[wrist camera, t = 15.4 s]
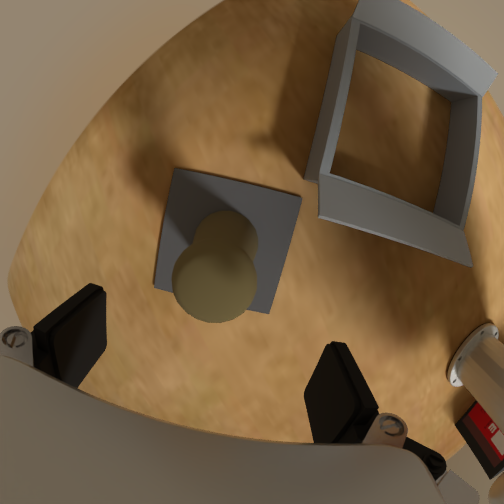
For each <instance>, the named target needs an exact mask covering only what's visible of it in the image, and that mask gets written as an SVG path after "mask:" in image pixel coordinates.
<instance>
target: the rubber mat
mask: <svg viewBox="0 0 504 504" xmlns="http://www.w3.org/2000/svg"><path fill="white" fill-rule="evenodd" d="M301 202H302V198H301V197H297V196H294V195H290V194H286V193H282V192H279V191H275V190H271V189H267V188H263V187H259V186H255V185H251V184H247V183H243V182H238V181H234V180H230V179H225V178H221V177H216V176H212V175H207V174H202V173H197V172H193V171H188V170H182V169H177V168H174V173H173V177H172V182H171V187H170V191H169V196H168V201H167V207H166V212H165V217H164V223H163V229H162V235H161V241H160V247H159V254H158V261H157V269H156V276H155V285H154V288H157V289H161V290H164V291H168V292H172V293H173V290H172V280H171V278H172V272H173V268H174V264H175V262H176V261H177V259H178V258H179V256H180V255H181V253H182V252H183V251H184V250H185V249H186V248H187V247H189V246H190V245H191V244H193V239H194V236H195V232H196V229H197V227H198V226H199V224H200V223H201V221H202V220H203V219H204V218H206V217H207V216H208V215H210V214H212V213H215V212H218V211H233V212H236V213H239V214H241V215H243V216H244V217H246V218H247V219H248V220H250V222H251V223H252V225H253V226H254V227H255V229H256V232H257V236H258V250H257V253H256V255H255V258H254V261H253V264H254V267H255V270H256V273H257V291H256V293H255V296H254V298H253V301H252V303H251V304H250V306H249V307H248V308H247V309H246V310H251V311H256V312H261V313H266V314H269V312H270V309H271V306H272V303H273V299H274V296H275V293H276V289H277V286H278V283H279V280H280V276H281V273H282V269H283V266H284V263H285V259H286V256H287V252H288V249H289V245H290V242H291V238H292V235H293V231H294V228H295V224H296V220H297V217H298V213H299V210H300V206H301Z"/></svg>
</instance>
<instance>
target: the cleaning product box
mask: <svg viewBox="0 0 504 504" xmlns="http://www.w3.org/2000/svg"><path fill="white" fill-rule="evenodd" d="M455 426H456V428H457V429H458V431H459V432H460V434H461V435H462V436H463V438H464V439H465V441H466V442H467V444H468V445H469V447H470V448H471V450H472V452H473V453H474V455H475V456H476V458H477V459H478V461H479V462H480V464H481V466H482V467H483V469H484V470H485V472H486V474H487V475H488V477H489V479H492V478H494V477H495V476H497V475H498V474H499V473H501V472H502V471H504V434H503V433H502V431H501V430H500V429H499V428H498V426H497V425H496V424H495V422H494V421H493V420H492V419H491V417H490V416H489V415H488V414H487V412H486V411H485V410H484V409H483V407H482V406H481V405H480V404H479V403H478V401H477V400H476V401H475V402H474V403H473V405H472V406H471V407H470V408H469V410H468V411H467V412H466V413H465V414H464V415H463V417H462V418H461V419H460V420H459V421H458V422H457V423H456V424H455Z"/></svg>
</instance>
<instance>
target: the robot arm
mask: <svg viewBox="0 0 504 504" xmlns="http://www.w3.org/2000/svg"><path fill="white" fill-rule="evenodd" d="M33 328H34V330H33V331H32V332H31V333H30V332H29V331H28V330H27V329H25V328H23V327H18V326H14V327H9V328H6V329H5V330H3V331H2V332H1V333H0V504H478V503H479V495H478V492H477V491H476V490H475V489H474V488H473V487H472V486H470V485H469V484H468V483H467V482H465V481H464V480H463V479H462V478H460V477H459V476H458V475H456V474H455V473H454V472H453V471H451V470H449V471H448V472H447V471H446V461H445V459H444V458H443V457H442V456H441V455H440V454H439V453H437V452H436V451H434V450H432V449H429V448H427V447H425V446H423V445H422V444H420V443H418V442H416V441H414V440H412V439H410V438H408V437H406V436H407V433H408V428H407V425H406V423H405V422H404V421H403V420H402V419H401V418H400V417H398V416H397V415H395V414H392V413H381V414H379V412H378V410H377V409H378V408H379V407H378V405H377V403H376V401H375V399H374V397H373V395H372V393H371V391H370V389H369V387H368V385H367V383H366V381H365V379H364V377H363V375H362V373H361V371H360V369H359V367H358V365H357V364H356V362H355V360H354V358H353V356H352V354H351V352H350V350H349V348H348V347H347V345H346V343H342V342H335V341H332V342H331V343H330V344H327V345H326V346H325V348H324V351H323V353H322V355H321V357H320V359H319V362H318V364H317V366H316V368H315V370H314V372H313V374H312V376H311V378H310V380H309V383H308V385H307V387H306V389H305V391H304V400H305V404H306V409H307V413H308V418H309V422H310V427H311V431H312V436H313V441H314V443H299V442H283V441H271V440H262V439H253V438H246V437H239V436H233V435H227V434H221V433H215V432H210V431H205V430H201V429H196V428H192V427H187V426H183V425H179V424H175V423H172V422H168V421H164V420H161V419H157V418H154V417H151V416H148V415H144V414H141V413H138V412H135V411H132V410H129V409H127V408H124V407H121V406H118V405H116V404H113V403H110V402H108V401H105V400H103V399H100V398H98V397H96V396H93V395H91V394H89V393H86V392H84V391H82V390H80V389H77V388H78V386H79V385H80V383H81V382H82V381H83V379H84V378H85V377H86V375H87V374H88V372H89V371H90V370H91V368H92V367H93V366H94V364H95V363H96V362H97V360H98V359H99V358H100V356H101V355H102V354H103V352H104V351H105V349H106V346H107V335H106V292H105V291H103V287H101V286H98V285H95V284H92V283H89V284H88V285H86V286H85V287H84V288H82V289H81V290H80V291H78V292H77V293H76V294H74V295H73V296H72V297H70V298H69V299H68V300H66V301H65V302H64V303H62V304H61V305H60V306H59V307H57V308H56V309H55V310H53V311H52V312H51V313H50V314H48V315H47V316H46V317H45V318H43V319H42V320H41V321H40V322H38V323H37V324H36V325H35V326H34V327H33ZM498 337H499V333H498V329H497V327H496V326H495V325H493V324H492V323H487V324H484V325H482V326H480V327H478V328H477V329H476V330H475V331H473V332H472V333H471V334H470V335H469V336H468V337H467V338H466V340H465V341H464V342H463V343H462V345H461V346H460V348H459V349H458V350H457V352H456V354H455V355H454V357H453V359H452V361H451V364H450V366H449V369H448V375H447V378H448V381H449V382H450V384H451V385H452V386H455V387H458V386H462V385H464V386H465V387H466V388H467V390H468V391H469V392H470V393H471V394H472V395H473V397H474V398H475V399H476V400H477V401H478V403H479V404H480V405H481V406H482V407H483V409H484V410H485V411H486V412H487V414H488V415H489V416H490V417H491V419H492V420H493V421H494V422H495V424H496V425H497V426H498V428H499V429H500V430H501V431H502V433H503V434H504V344H503V343H501V342H500V341H499V340H498ZM488 499H489V504H504V472H503V474H501V475H500V476H499V477H498V478H497V479H496V481H495V482H494V483H493V484H492V486H491V488H490V490H489V494H488Z"/></svg>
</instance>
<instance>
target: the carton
mask: <svg viewBox="0 0 504 504" xmlns="http://www.w3.org/2000/svg"><path fill="white" fill-rule="evenodd" d="M356 49H357V50H359V51H361V52H364V53H366V54H368V55H370V56H372V57H375V58H377V59H379V60H381V61H383V62H385V63H387V64H389V65H391V66H393V67H395V68H397V69H399V70H400V71H402V72H404V73H406V74H408V75H410V76H411V77H413V78H415V79H416V80H418V81H420V82H421V83H423V84H425V85H426V86H428V87H430V88H431V89H433V90H434V91H436V92H437V93H439V94H440V95H442V96H443V97H445V98H446V99H448V100H449V101H450V102H451V113H450V124H449V133H448V140H447V148H446V154H445V160H444V166H443V171H442V176H441V181H440V186H439V191H438V195H437V199H436V203H435V207H434V211H433V213H431V212H429V211H427V210H425V209H422V208H420V207H418V206H415V205H413V204H411V203H408V202H406V201H404V200H401V199H399V198H396V197H394V196H391V195H389V194H386V193H384V192H381V191H379V190H376V189H373V188H371V187H368V186H365V185H362V184H360V183H357V182H354V181H351V180H348V179H345V178H342V177H340V176H337V175H333V174H330V170H331V166H332V162H333V158H334V154H335V150H336V145H337V141H338V137H339V133H340V128H341V124H342V119H343V115H344V110H345V105H346V101H347V96H348V91H349V86H350V81H351V75H352V70H353V64H354V59H355V53H356ZM497 74H498V73H497V72H496V71H495V70H494V69H493V68H492V67H490V66H489V65H488V64H487V63H486V62H485V61H484V60H483V59H482V58H481V57H480V56H478V55H477V54H476V53H475V52H474V51H473V50H472V49H470V48H469V47H468V46H467V45H465V44H464V43H463V42H462V41H461V40H459V39H458V38H456V37H455V36H454V35H453V34H451V33H450V32H449V31H447V30H446V29H444V28H443V27H441V26H440V25H439V24H437V23H436V22H434V21H433V20H431V19H430V18H428V17H427V16H425V15H424V14H422V13H420V12H419V11H417V10H415V9H414V8H412V7H410V6H408V5H407V4H405V3H403V2H401V1H399V0H359V1H358V4H357V6H356V8H355V11H354V13H353V15H352V16H351V17H350V19H349V20H348V21H347V23H346V24H345V25H344V27H343V28H342V29H341V31H340V32H339V34H338V35H337V37H336V42H335V47H334V52H333V56H332V61H331V66H330V70H329V75H328V79H327V84H326V88H325V93H324V97H323V101H322V106H321V110H320V114H319V118H318V123H317V127H316V131H315V135H314V139H313V143H312V147H311V151H310V155H309V159H308V163H307V167H306V171H305V175H304V178H303V179H304V180H307V181H310V182H314V183H317V184H318V218H321V219H324V220H328V221H331V222H335V223H338V224H342V225H345V226H349V227H352V228H355V229H359V230H362V231H365V232H368V233H372V234H375V235H378V236H381V237H384V238H387V239H391V240H394V241H397V242H400V243H403V244H406V245H409V246H412V247H415V248H418V249H421V250H423V251H426V252H429V253H432V254H435V255H438V256H440V257H443V258H446V259H449V260H451V261H454V262H457V263H460V264H462V265H465V266H468V267H470V268H472V267H473V263H472V259H471V255H470V251H469V247H468V244H467V240H466V237H465V233H464V231H463V230H464V227H465V223H466V219H467V215H468V211H469V206H470V202H471V197H472V192H473V187H474V182H475V176H476V170H477V163H478V155H479V146H480V135H481V119H482V97H483V96H484V95H485V93H486V92H487V90H488V88H489V87H490V85H491V84H492V82H493V81H494V79H495V78H496V76H497Z"/></svg>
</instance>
